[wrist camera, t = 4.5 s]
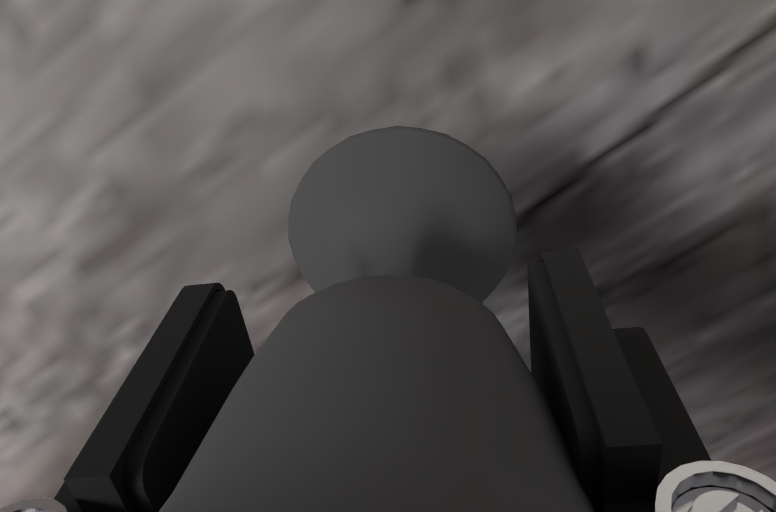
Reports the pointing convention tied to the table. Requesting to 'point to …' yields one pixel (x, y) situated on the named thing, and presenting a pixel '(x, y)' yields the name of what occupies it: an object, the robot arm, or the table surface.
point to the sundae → (389, 353)
